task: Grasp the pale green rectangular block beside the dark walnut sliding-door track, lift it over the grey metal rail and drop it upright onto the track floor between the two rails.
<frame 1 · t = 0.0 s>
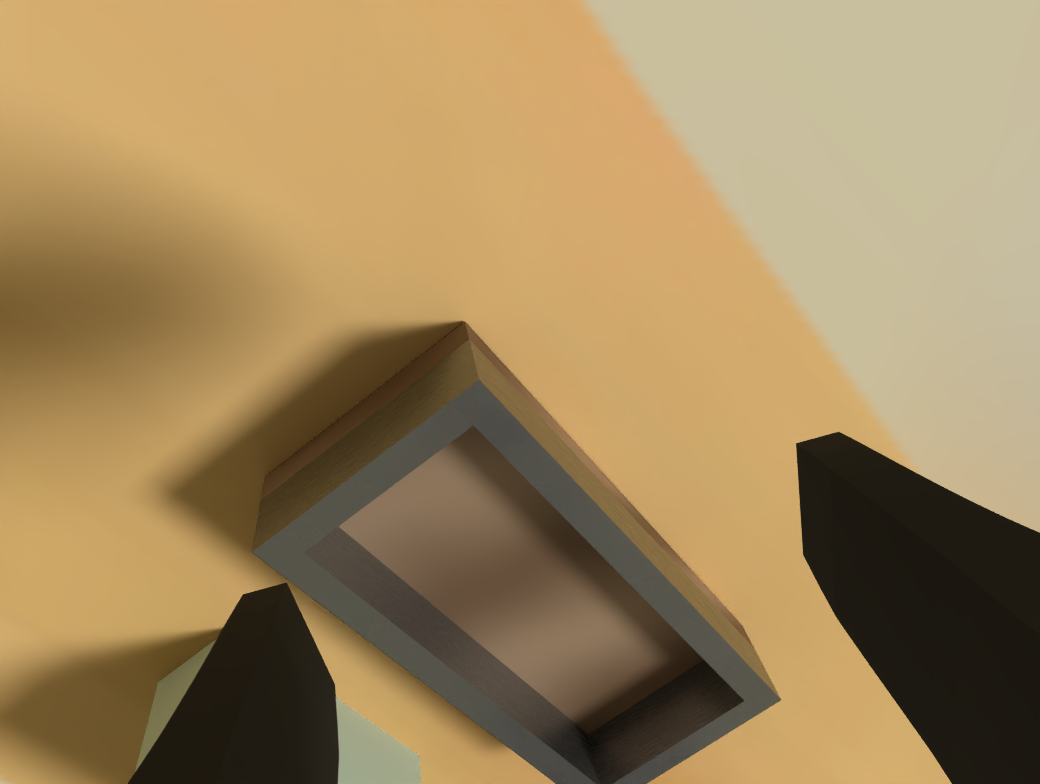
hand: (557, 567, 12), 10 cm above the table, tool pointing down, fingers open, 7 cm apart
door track: (528, 559, 25), on the table
pale green rectangular block: (296, 719, 27), on the table
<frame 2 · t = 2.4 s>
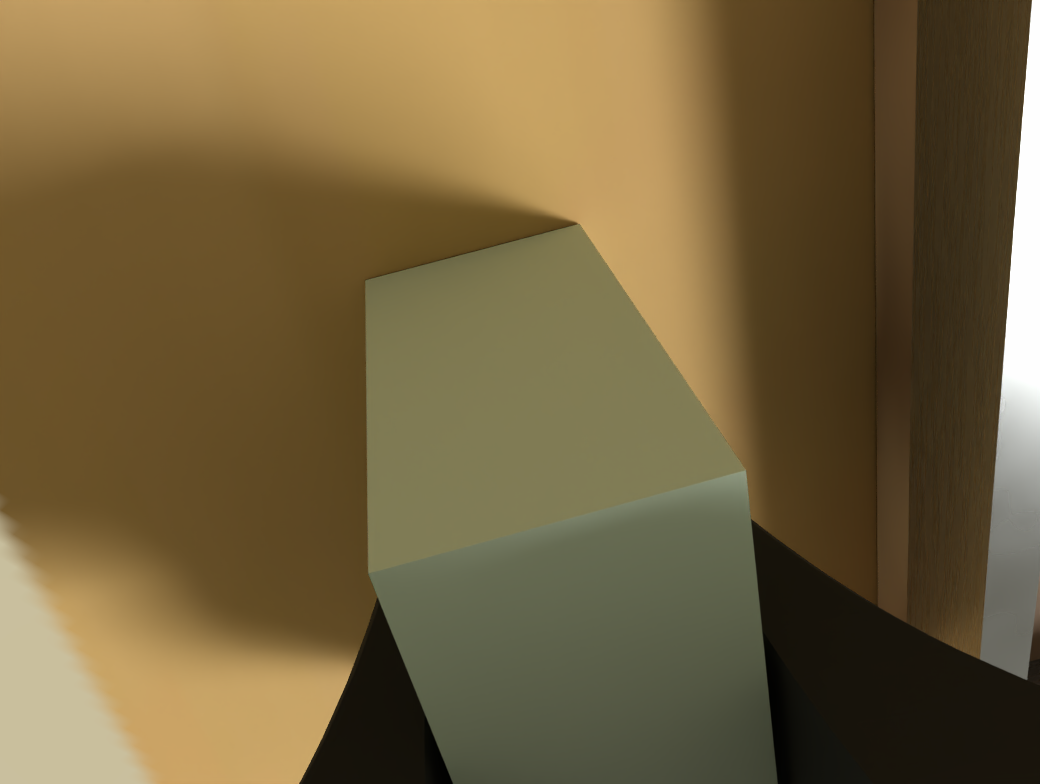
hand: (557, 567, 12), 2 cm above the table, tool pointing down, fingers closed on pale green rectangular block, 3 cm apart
pale green rectangular block: (532, 483, 14), on the table, touching gripper
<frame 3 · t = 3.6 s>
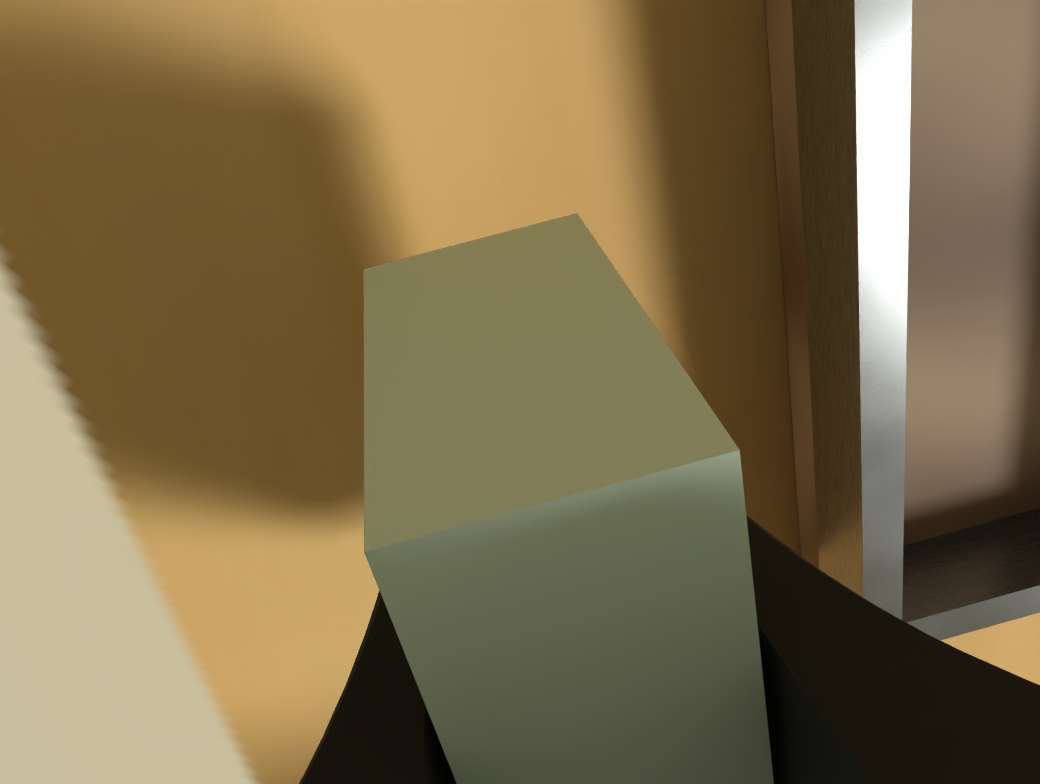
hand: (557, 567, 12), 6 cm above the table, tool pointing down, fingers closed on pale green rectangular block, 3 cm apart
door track: (946, 257, 17), on the table
pale green rectangular block: (530, 473, 14), point 3 cm above the table, touching gripper
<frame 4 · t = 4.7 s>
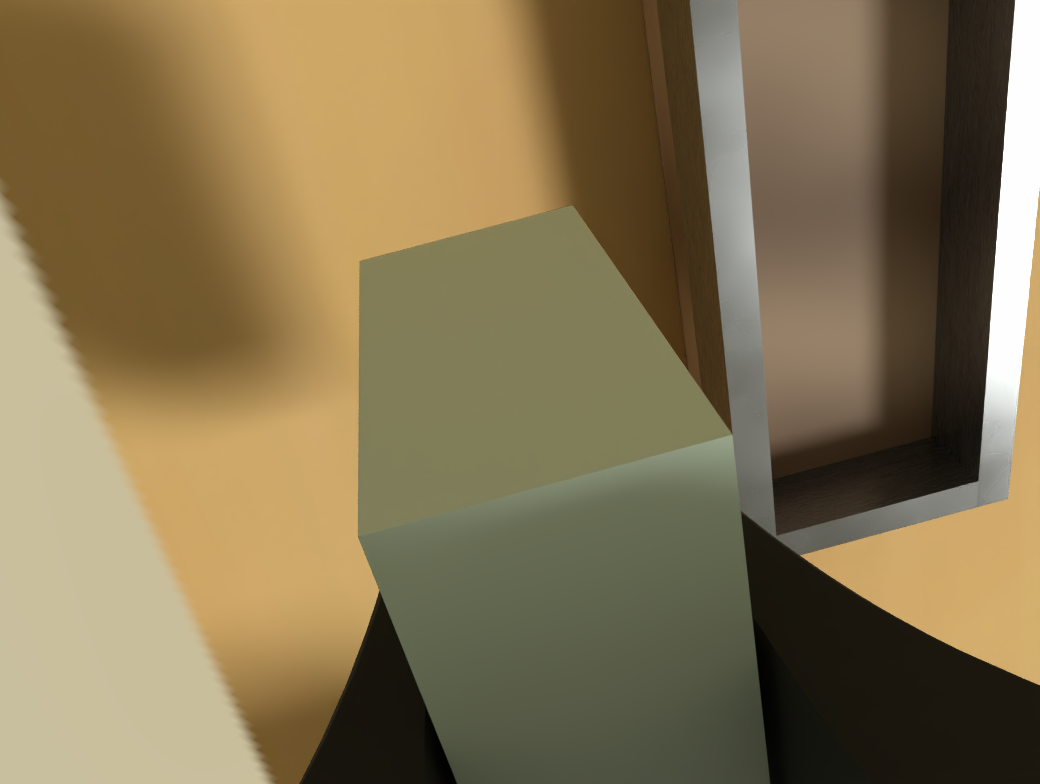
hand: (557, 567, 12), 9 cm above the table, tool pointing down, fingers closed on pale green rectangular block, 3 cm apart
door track: (812, 222, 20), on the table
pale green rectangular block: (527, 466, 14), point 7 cm above the table, touching gripper
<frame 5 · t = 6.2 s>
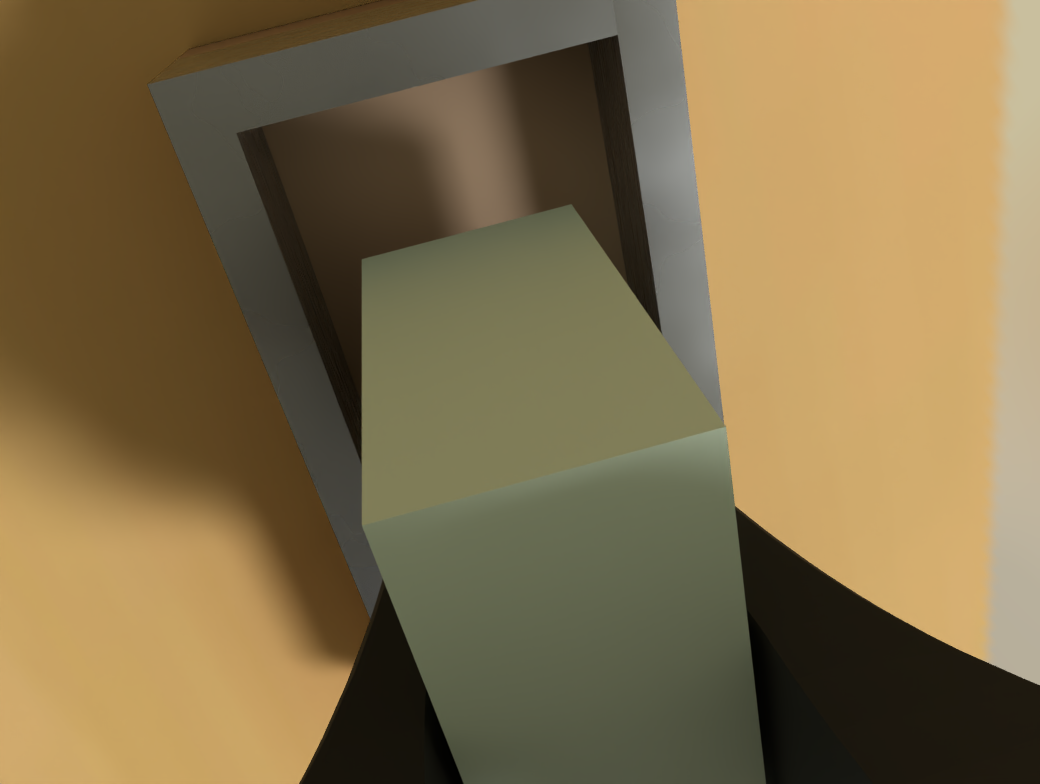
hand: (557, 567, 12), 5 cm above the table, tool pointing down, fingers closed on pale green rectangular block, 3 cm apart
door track: (502, 383, 17), on the table
pale green rectangular block: (526, 462, 14), point 3 cm above the table, touching gripper
when the fingers open (4 cm above the table, at t = 7.3 s): pale green rectangular block stays where it is, resting on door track.
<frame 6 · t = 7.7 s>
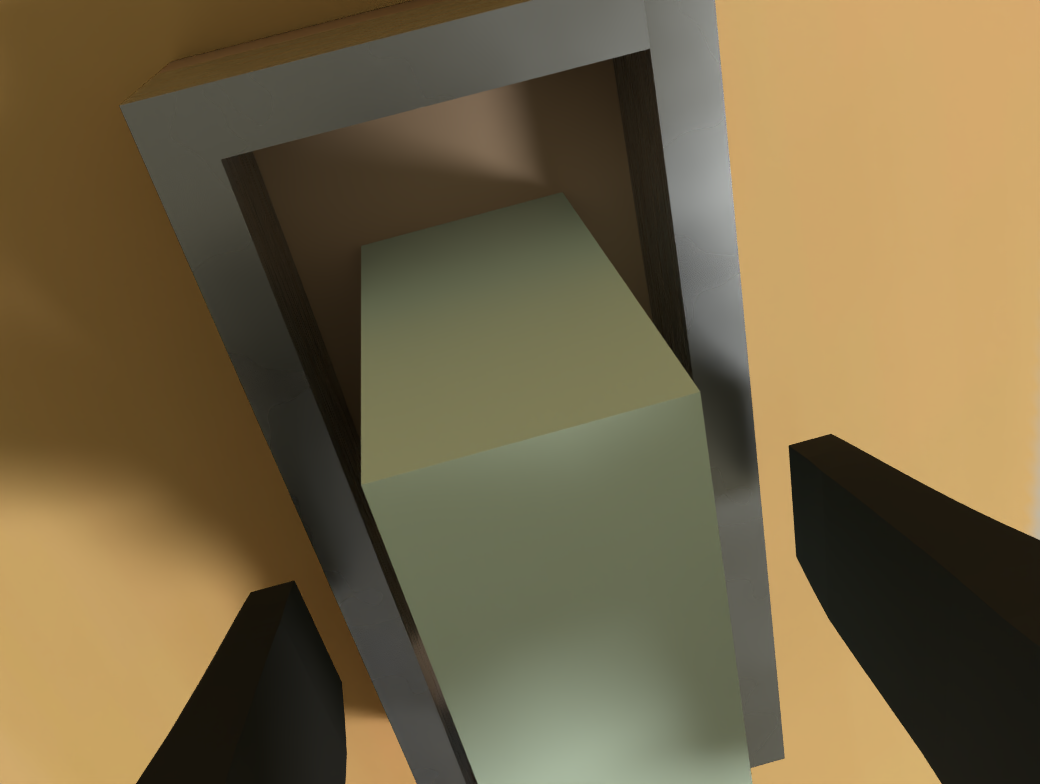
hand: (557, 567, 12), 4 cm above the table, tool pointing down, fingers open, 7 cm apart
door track: (514, 419, 16), on the table
pale green rectangular block: (521, 442, 15), point 1 cm above the table, touching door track
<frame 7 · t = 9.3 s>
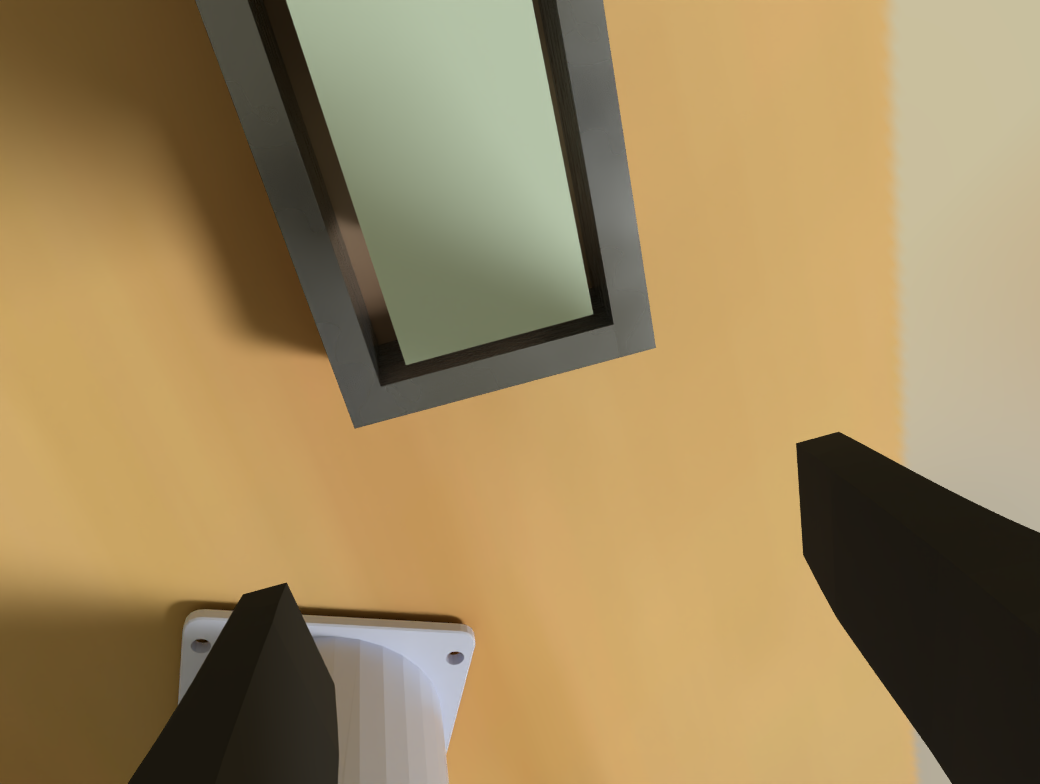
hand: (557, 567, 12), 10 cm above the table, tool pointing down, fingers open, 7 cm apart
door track: (409, 24, 18), on the table
pale green rectangular block: (409, 22, 17), point 1 cm above the table, touching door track
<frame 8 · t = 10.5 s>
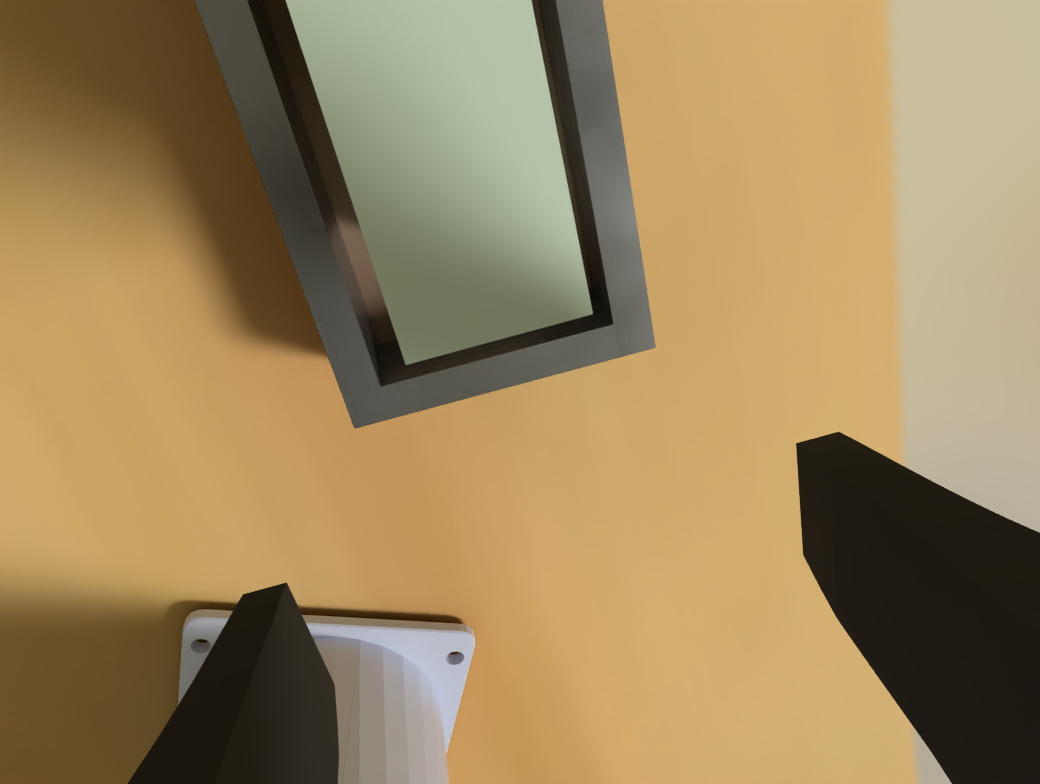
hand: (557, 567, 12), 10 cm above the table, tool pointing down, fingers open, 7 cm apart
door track: (408, 24, 18), on the table
pale green rectangular block: (409, 22, 17), point 1 cm above the table, touching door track
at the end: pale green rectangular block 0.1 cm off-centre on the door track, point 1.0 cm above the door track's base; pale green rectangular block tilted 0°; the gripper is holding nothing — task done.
